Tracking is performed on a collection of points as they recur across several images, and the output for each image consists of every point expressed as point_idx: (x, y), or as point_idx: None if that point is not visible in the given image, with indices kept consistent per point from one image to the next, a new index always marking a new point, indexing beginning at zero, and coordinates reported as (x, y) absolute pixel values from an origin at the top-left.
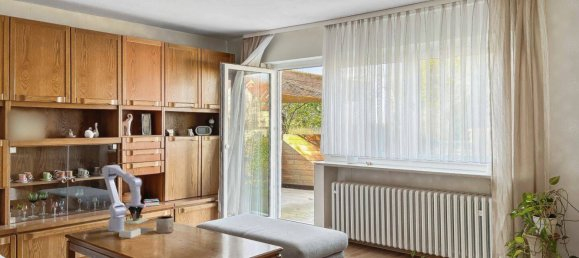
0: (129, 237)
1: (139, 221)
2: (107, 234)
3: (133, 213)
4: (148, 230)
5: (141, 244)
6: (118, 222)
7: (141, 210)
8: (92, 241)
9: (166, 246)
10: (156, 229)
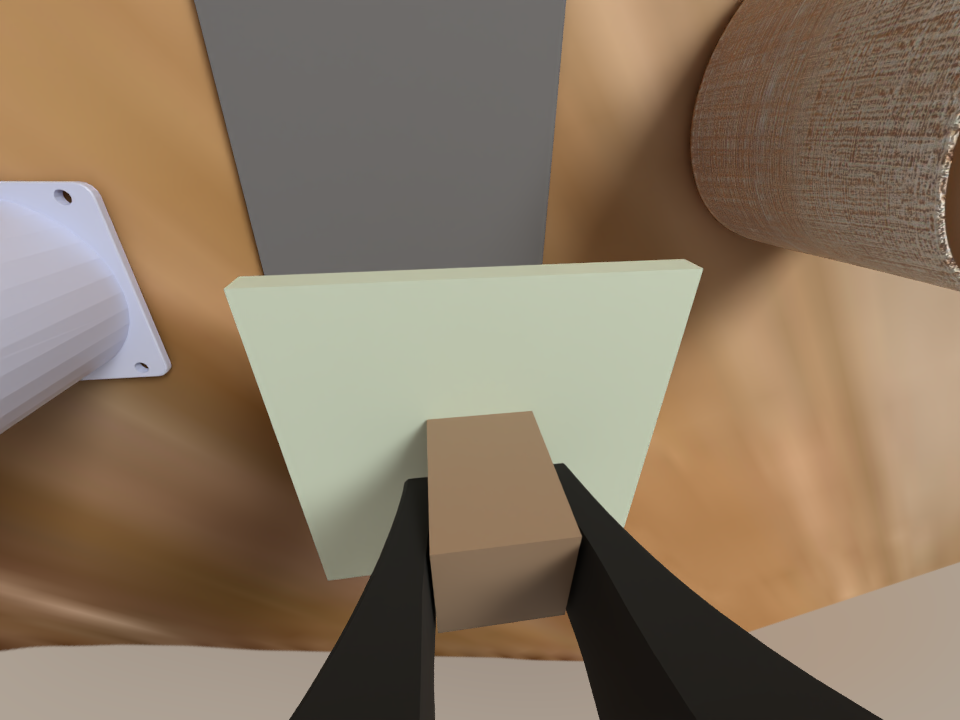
0: None
1: (607, 490)
2: (165, 484)
3: (430, 624)
4: (534, 151)
5: (715, 550)
6: (2, 431)
7: (743, 647)
8: (308, 638)
9: (896, 518)
10: (731, 213)
